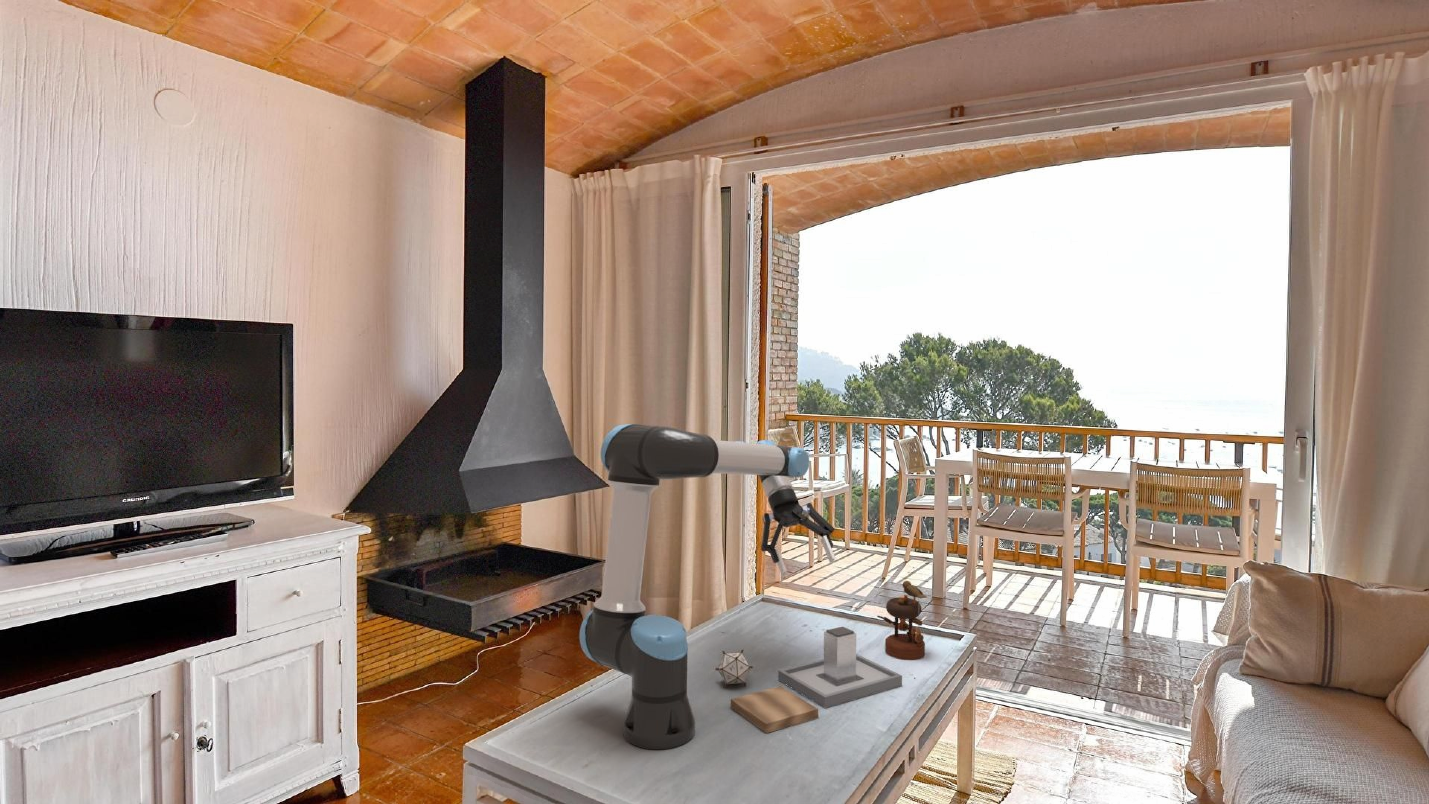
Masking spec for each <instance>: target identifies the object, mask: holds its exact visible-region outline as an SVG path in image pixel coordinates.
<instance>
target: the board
mask: <svg viewBox="0 0 1429 804" xmlns="http://www.w3.org/2000/svg"><path fill="white" fill-rule="evenodd" d="M730 708H731V709H732V710H733V711H734V712H736V713H737V714H738V715H741V716H742V717H743V718H745V719H746V720H747V721H748V722H749V723H751V724H752V725H754V726H755V727H757V728H758V729H759V730H761V731H762V732H764V733H765V734H768V733H772V732H774V731H779V730H782V729H784V728H789V727H791V726H796V725H798V724H802V723H805V722H808V721H812V720H815V719H818V718H819V708H818V707H816V706H814V705H813V704H811V703H810V702H808V701H806V700H804V699H803V698H801V697H799V696H798V695H796V694H794V693H793V692H791V691H790V690H788V689H786V688H785V687H783V686H782V685H780V686H777V687H772V688H768V689H764V690H761V691H757V692H753V693H749V694H745V695H741V696H738V697H735V698H730ZM811 719H812V720H811Z"/></svg>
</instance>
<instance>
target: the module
mask: <svg viewBox="0 0 1429 804" xmlns="http://www.w3.org/2000/svg"><path fill="white" fill-rule="evenodd" d="M856 654H857V633H856V632H855V631H854V630H851V629H850V628H847V627H844V626H838V627H835V628H830V629H826V630H825V631H823V659H824V679H823V680H825V681H827V682H829V683H830V684H832V685H834V686H836V687H837V686H841V685H844V684H848V683H851V682H855V681H856Z"/></svg>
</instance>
